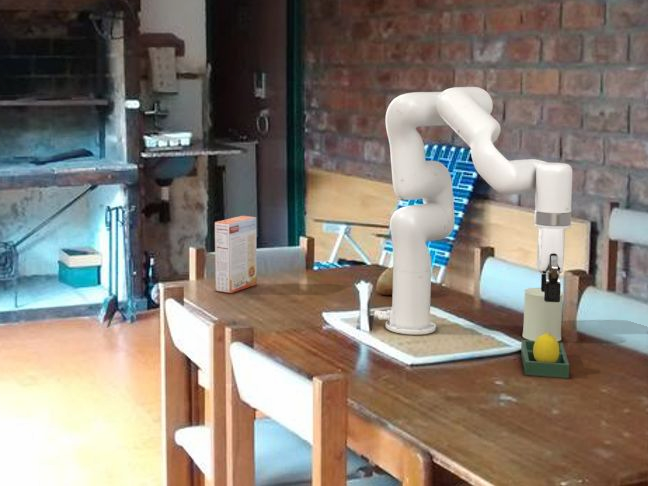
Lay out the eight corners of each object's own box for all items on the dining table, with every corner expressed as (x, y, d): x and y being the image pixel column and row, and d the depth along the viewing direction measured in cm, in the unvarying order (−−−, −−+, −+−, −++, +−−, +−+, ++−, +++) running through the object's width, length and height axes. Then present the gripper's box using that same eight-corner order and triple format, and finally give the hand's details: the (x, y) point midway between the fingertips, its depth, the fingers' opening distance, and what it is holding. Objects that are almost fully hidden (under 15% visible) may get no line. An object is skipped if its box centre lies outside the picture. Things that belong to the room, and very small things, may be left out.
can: (563, 343, 245) (565, 295, 243) (523, 341, 247) (525, 293, 245) (559, 333, 254) (561, 286, 252) (520, 331, 256) (522, 284, 254)
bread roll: (431, 294, 294) (432, 267, 293) (387, 299, 288) (388, 271, 287) (413, 287, 303) (413, 261, 302) (369, 292, 297) (370, 265, 296)
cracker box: (241, 282, 308) (241, 214, 306) (257, 285, 305) (258, 216, 302) (213, 291, 297) (213, 220, 294) (230, 294, 293) (230, 222, 291)
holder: (525, 375, 221) (525, 361, 221) (521, 352, 238) (521, 339, 237) (568, 378, 219) (569, 364, 218) (561, 355, 236) (562, 342, 235)
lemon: (558, 365, 226) (560, 331, 225) (558, 373, 221) (559, 337, 220) (532, 363, 228) (534, 328, 227) (531, 370, 222) (533, 335, 222)
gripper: (532, 213, 230) (530, 287, 231) (537, 225, 213) (534, 304, 215) (567, 214, 228) (564, 289, 230) (574, 226, 211) (572, 306, 213)
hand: (550, 296), depth 222 cm, fingers open, 9 cm apart
